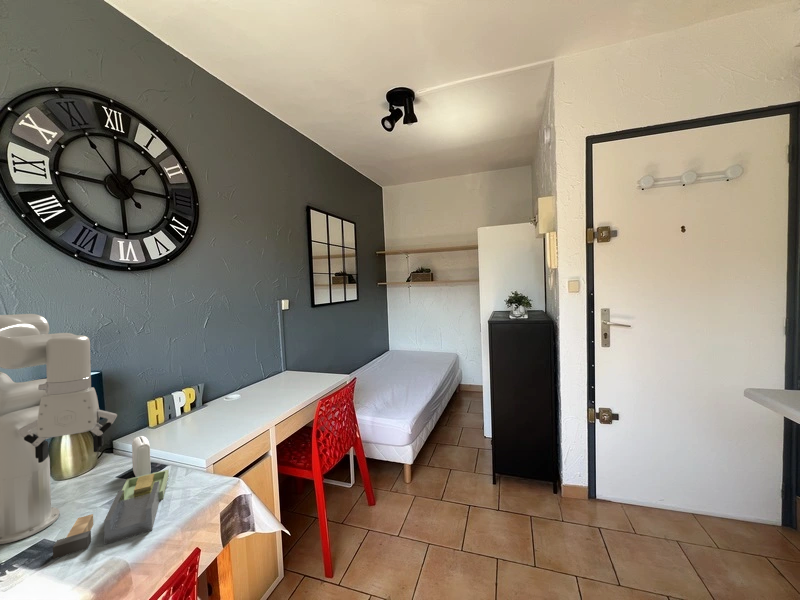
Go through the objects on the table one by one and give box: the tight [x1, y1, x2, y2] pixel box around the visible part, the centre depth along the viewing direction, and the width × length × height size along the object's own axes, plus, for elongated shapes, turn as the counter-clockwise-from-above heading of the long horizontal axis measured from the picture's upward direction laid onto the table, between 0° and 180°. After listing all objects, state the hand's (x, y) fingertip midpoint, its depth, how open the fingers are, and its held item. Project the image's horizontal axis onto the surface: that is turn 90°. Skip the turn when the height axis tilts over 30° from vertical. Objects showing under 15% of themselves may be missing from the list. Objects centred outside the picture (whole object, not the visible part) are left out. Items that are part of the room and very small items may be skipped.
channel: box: [103, 481, 161, 545], centre depth 87 cm, size 9×14×6 cm
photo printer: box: [131, 435, 152, 477], centre depth 111 cm, size 10×4×12 cm, turn 47°
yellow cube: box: [136, 473, 155, 485], centre depth 100 cm, size 4×4×4 cm
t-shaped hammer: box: [52, 513, 94, 560], centre depth 81 cm, size 6×3×10 cm
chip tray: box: [121, 469, 170, 501], centre depth 100 cm, size 11×14×2 cm
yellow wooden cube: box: [134, 480, 153, 497], centre depth 97 cm, size 4×4×4 cm
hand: (71, 454), depth 79 cm, fingers open, 9 cm apart
